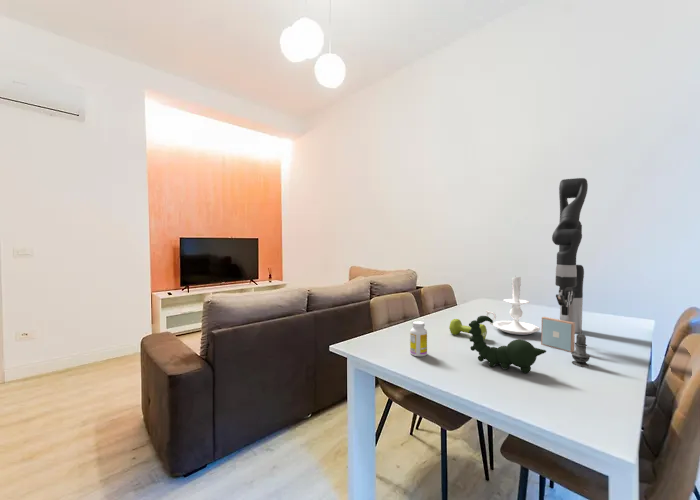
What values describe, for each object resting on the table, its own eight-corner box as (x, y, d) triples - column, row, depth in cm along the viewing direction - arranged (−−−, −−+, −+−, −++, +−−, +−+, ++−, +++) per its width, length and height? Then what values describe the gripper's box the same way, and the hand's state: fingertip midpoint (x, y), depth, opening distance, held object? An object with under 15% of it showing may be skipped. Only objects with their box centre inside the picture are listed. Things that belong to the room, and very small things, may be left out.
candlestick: (491, 323, 176) (492, 272, 175) (543, 331, 160) (545, 275, 159) (478, 331, 161) (479, 275, 160) (534, 341, 145) (535, 279, 144)
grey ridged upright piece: (593, 367, 116) (594, 334, 115) (575, 366, 117) (576, 333, 116) (585, 361, 122) (586, 330, 121) (567, 360, 123) (568, 329, 122)
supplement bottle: (427, 352, 132) (428, 321, 131) (426, 358, 125) (426, 325, 125) (411, 350, 134) (411, 319, 133) (408, 356, 128) (409, 323, 127)
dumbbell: (447, 334, 156) (447, 320, 156) (456, 331, 161) (456, 317, 161) (480, 343, 143) (480, 327, 143) (488, 339, 149) (488, 324, 148)
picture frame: (543, 343, 142) (544, 316, 142) (574, 351, 132) (575, 322, 132) (540, 344, 141) (541, 317, 140) (571, 352, 131) (572, 323, 131)
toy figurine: (468, 367, 120) (545, 381, 104) (464, 317, 121) (540, 322, 104) (477, 360, 127) (550, 371, 111) (473, 312, 128) (546, 316, 112)
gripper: (563, 273, 146) (562, 311, 147) (549, 275, 139) (548, 315, 139) (582, 275, 140) (581, 314, 140) (568, 276, 132) (567, 318, 133)
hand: (565, 315), depth 140 cm, fingers closed
